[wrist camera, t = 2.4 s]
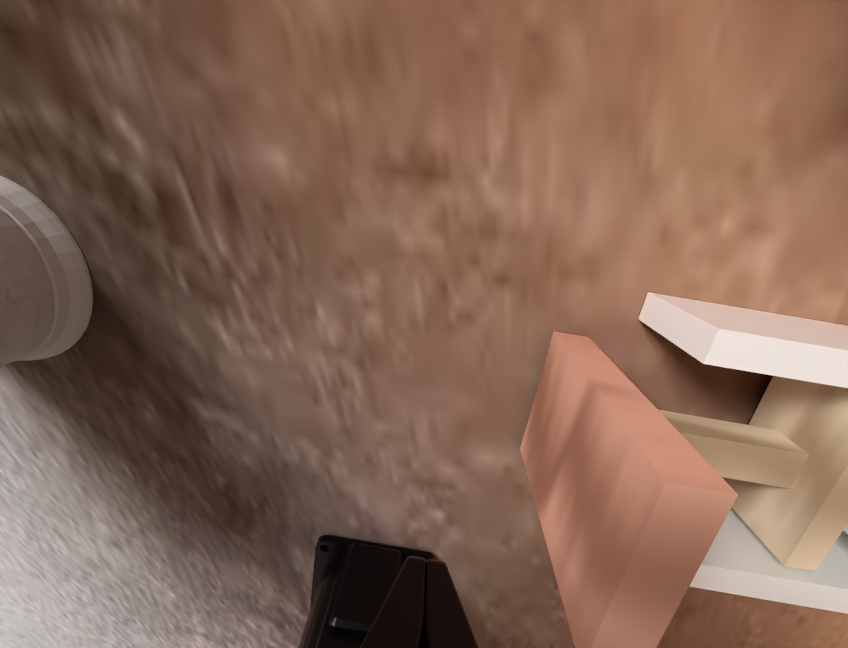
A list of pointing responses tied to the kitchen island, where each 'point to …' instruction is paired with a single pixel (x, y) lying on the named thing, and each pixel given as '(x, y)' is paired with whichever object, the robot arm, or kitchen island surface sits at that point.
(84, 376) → the kitchen island surface
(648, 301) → the channel
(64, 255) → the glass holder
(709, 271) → the kitchen island surface
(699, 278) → the kitchen island surface
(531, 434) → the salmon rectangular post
